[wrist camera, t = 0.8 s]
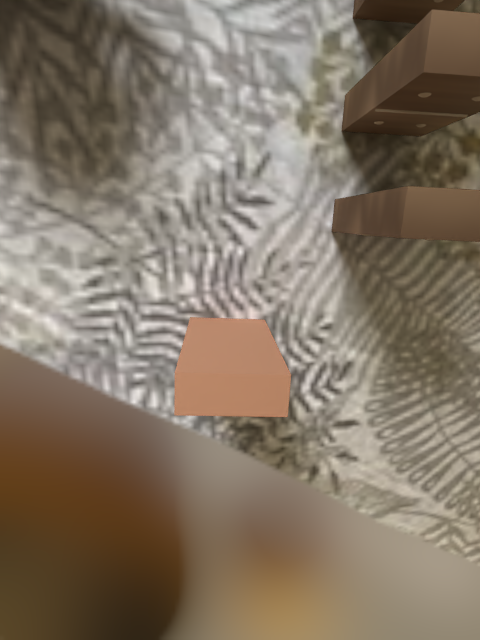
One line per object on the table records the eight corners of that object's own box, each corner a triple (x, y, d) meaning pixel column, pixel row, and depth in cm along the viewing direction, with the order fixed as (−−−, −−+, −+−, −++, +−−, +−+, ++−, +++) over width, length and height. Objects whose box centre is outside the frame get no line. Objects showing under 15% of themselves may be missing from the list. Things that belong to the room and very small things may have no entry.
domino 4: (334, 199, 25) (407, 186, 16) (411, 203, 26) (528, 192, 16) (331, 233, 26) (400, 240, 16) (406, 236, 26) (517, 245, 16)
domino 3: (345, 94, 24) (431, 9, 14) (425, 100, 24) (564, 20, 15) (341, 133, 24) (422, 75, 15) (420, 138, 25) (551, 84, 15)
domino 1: (190, 317, 27) (174, 372, 17) (264, 319, 27) (290, 374, 17) (189, 347, 27) (174, 417, 17) (262, 349, 28) (287, 419, 18)
